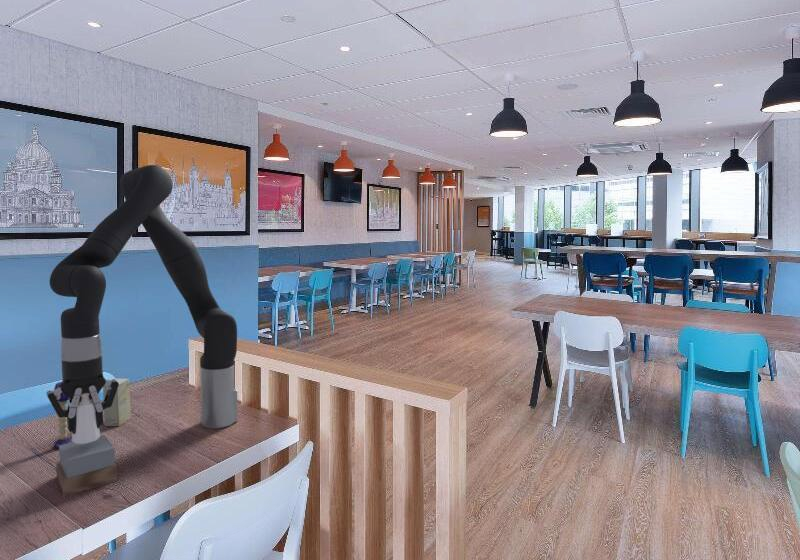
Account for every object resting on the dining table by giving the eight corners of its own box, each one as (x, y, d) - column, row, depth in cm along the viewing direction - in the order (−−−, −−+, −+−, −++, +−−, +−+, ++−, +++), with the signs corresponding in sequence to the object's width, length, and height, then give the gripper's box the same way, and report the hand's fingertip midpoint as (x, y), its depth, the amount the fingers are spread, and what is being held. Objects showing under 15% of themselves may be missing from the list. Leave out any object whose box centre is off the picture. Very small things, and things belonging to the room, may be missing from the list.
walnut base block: (107, 465, 118) (106, 449, 118) (116, 482, 111) (116, 465, 110) (57, 478, 112) (56, 461, 111) (63, 497, 104) (62, 480, 104)
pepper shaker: (86, 445, 107) (84, 397, 106) (65, 442, 108) (63, 394, 107) (106, 435, 112) (104, 388, 111) (85, 432, 113) (83, 386, 112)
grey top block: (105, 450, 117) (104, 434, 117) (115, 465, 111) (114, 448, 110) (59, 462, 111) (58, 445, 110) (67, 478, 104) (66, 460, 104)
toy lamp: (72, 439, 130) (69, 378, 128) (78, 445, 127) (75, 383, 125) (51, 445, 126) (47, 383, 124) (57, 451, 123) (53, 387, 121)
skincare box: (119, 426, 139) (117, 385, 137) (103, 426, 139) (101, 384, 137) (131, 418, 145) (130, 378, 143) (116, 417, 145) (115, 377, 144)
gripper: (114, 346, 115) (117, 416, 117) (39, 356, 106) (44, 432, 108) (122, 353, 110) (125, 427, 112) (44, 364, 100) (49, 444, 102)
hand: (85, 429), depth 110 cm, fingers closed on pepper shaker, 4 cm apart
